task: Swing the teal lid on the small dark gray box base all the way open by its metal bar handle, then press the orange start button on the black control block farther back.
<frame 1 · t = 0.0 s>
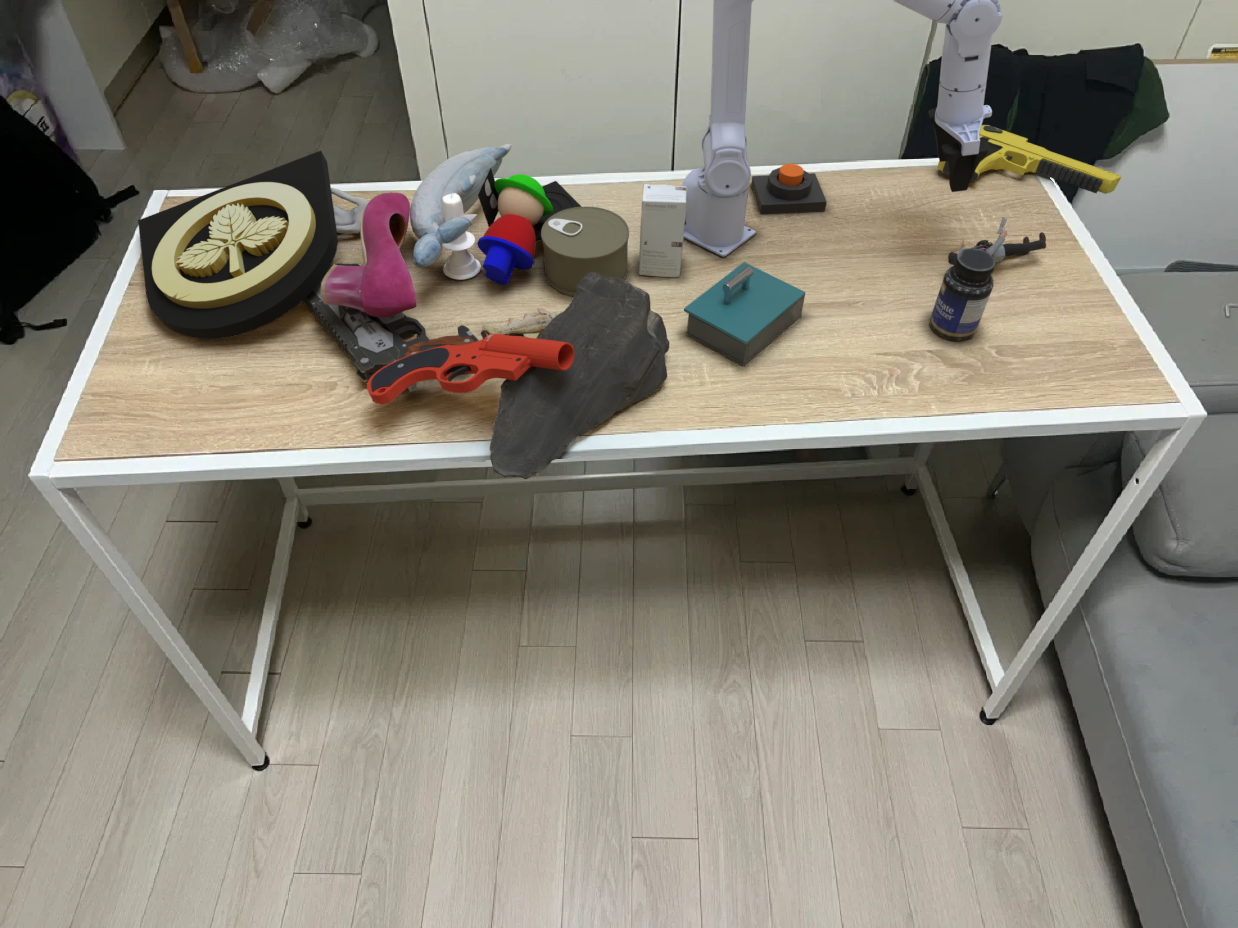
hand: (952, 174, 130), 11 cm above the table, tool pointing down, fingers open, 7 cm apart
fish: (523, 313, 125), point 1 cm above the table
pill bottle: (952, 328, 124), on the table
candle: (462, 269, 133), on the table, touching sculpture
decorative plaque: (246, 326, 119), point 3 cm above the table, touching fictional weapon, figurine
high heel: (354, 245, 125), point 7 cm above the table, touching fictional weapon
figurine: (256, 209, 138), point 3 cm above the table, touching decorative plaque
fictional weapon: (437, 300, 126), point 1 cm above the table, touching decorative plaque, flare gun, high heel
sculpture: (463, 231, 120), point 11 cm above the table, touching candle
flare gun: (422, 409, 103), point 8 cm above the table, touching fictional weapon, stone
stone: (635, 310, 119), point 5 cm above the table, touching flare gun
cosmetic box: (660, 268, 133), on the table
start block: (787, 198, 144), on the table
toy figure: (491, 275, 127), point 3 cm above the table, touching light switch
can: (586, 273, 132), on the table
action figure: (1036, 239, 133), point 2 cm above the table
washer lid: (746, 291, 120), point 5 cm above the table, hinge at 0.0°
light switch: (513, 235, 135), point 2 cm above the table, touching toy figure
handgun: (1006, 189, 143), point 2 cm above the table
start button: (790, 175, 141), point 4 cm above the table, slide at 0.1 cm
dark gray box base: (744, 325, 124), on the table
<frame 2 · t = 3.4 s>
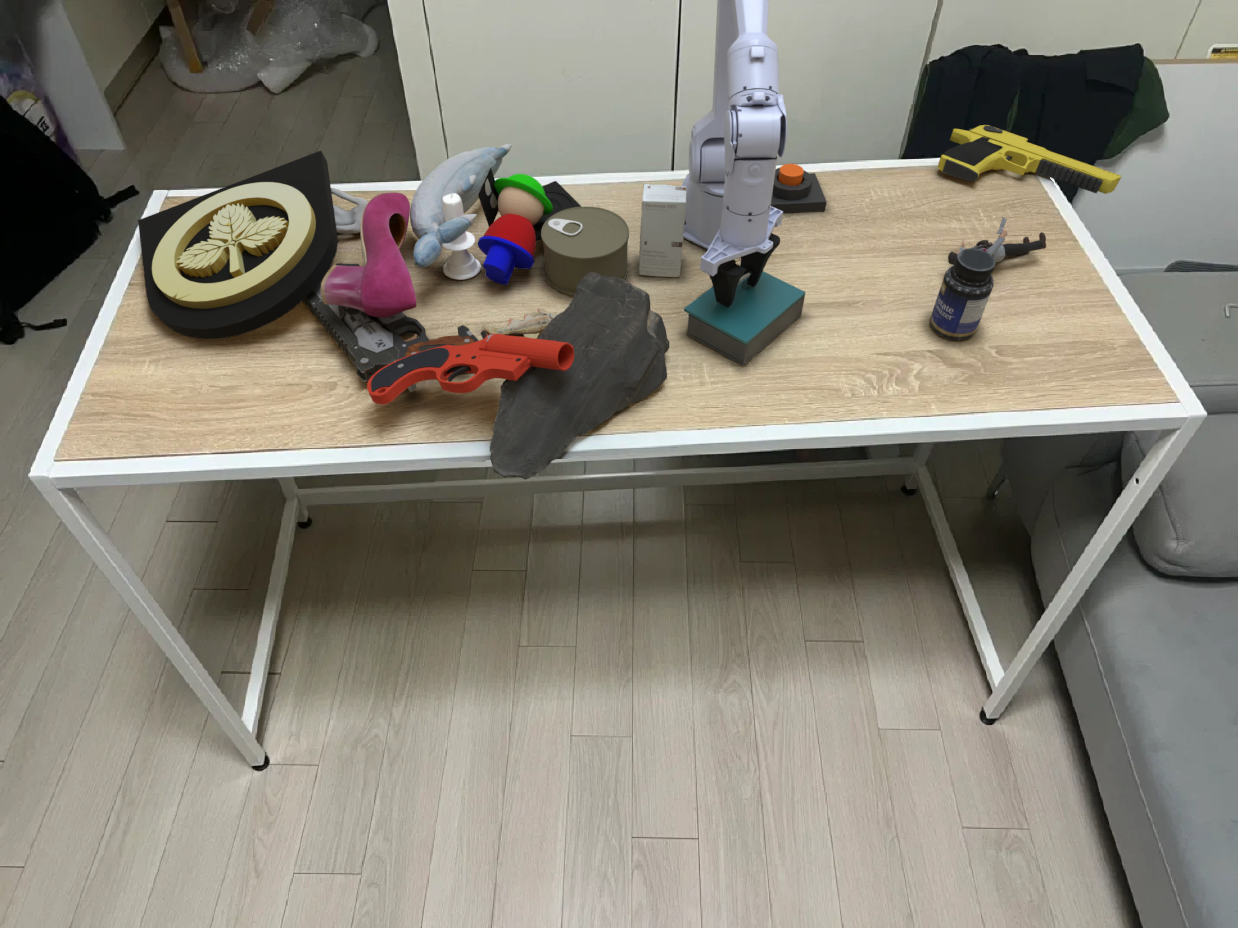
hand: (736, 293, 122), 5 cm above the table, tool pointing down, fingers closed on washer lid, 5 cm apart
washer lid: (746, 291, 120), point 6 cm above the table, hinge at 0.0°, touching gripper
everything else where it was.
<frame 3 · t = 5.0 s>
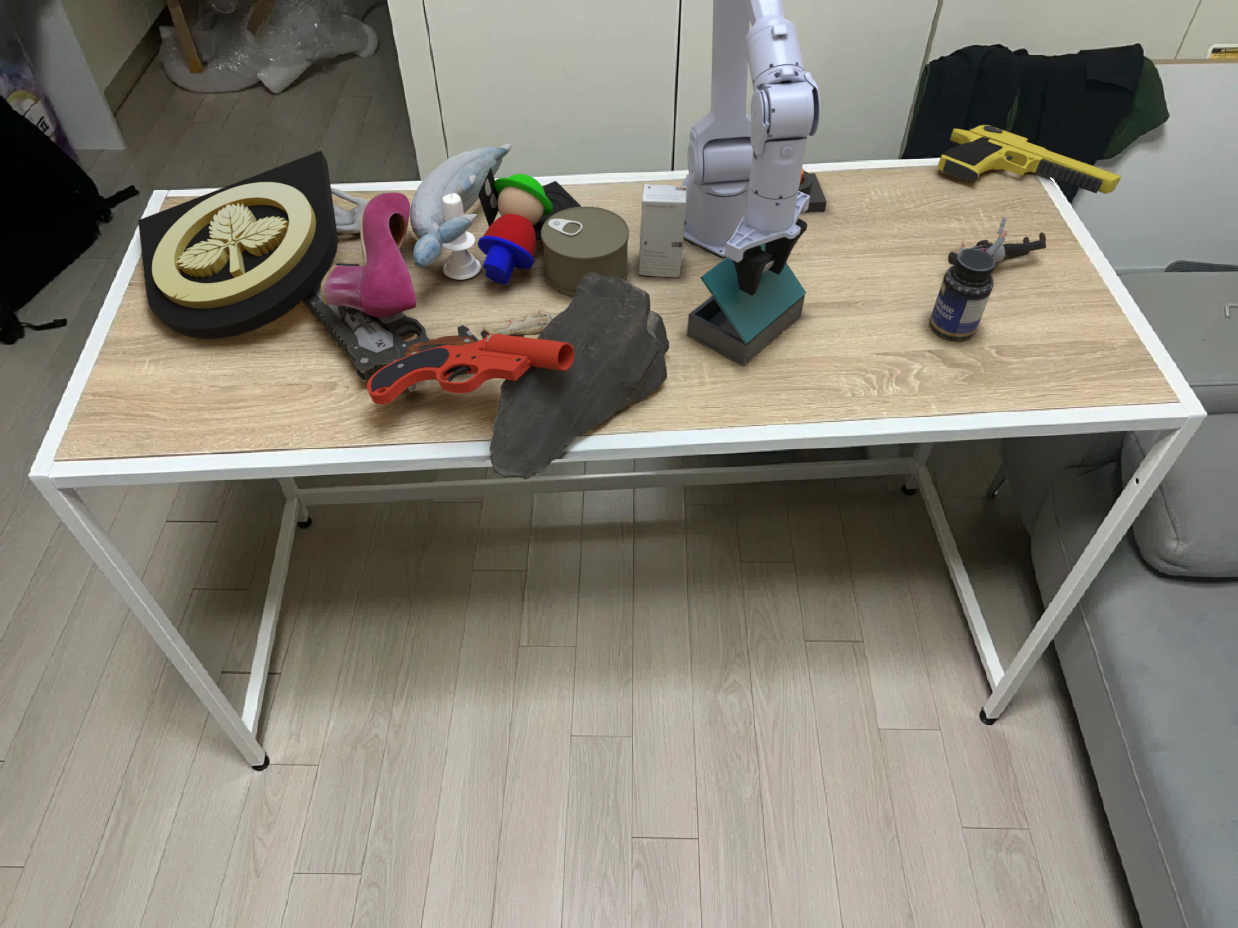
hand: (760, 280, 118), 8 cm above the table, tool pointing down, fingers closed on washer lid, 5 cm apart
washer lid: (762, 280, 117), point 8 cm above the table, hinge at 39.7°, touching gripper
everything else where it was.
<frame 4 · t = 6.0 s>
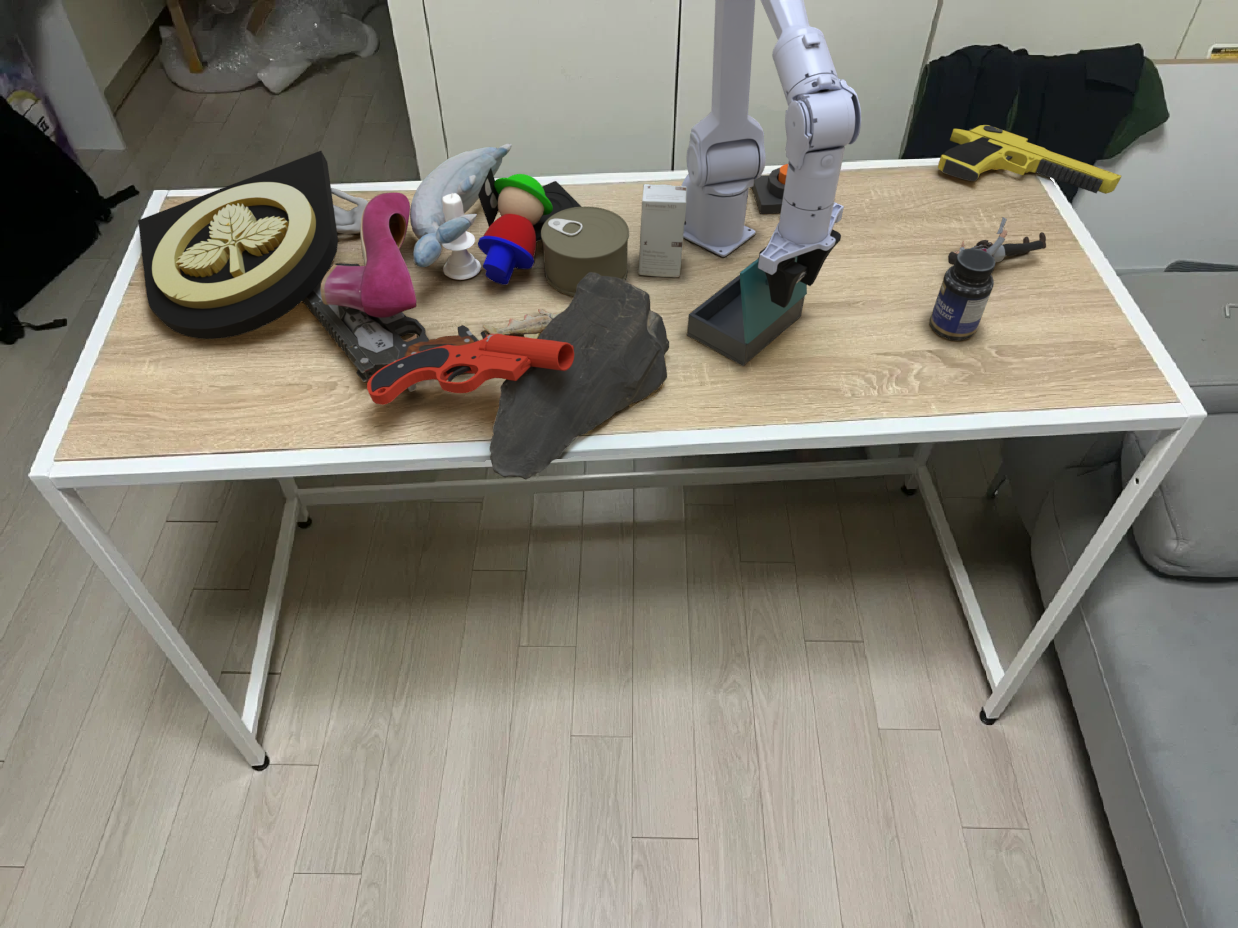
hand: (791, 292, 115), 9 cm above the table, tool pointing down, fingers closed on washer lid, 5 cm apart
washer lid: (785, 286, 115), point 9 cm above the table, hinge at 78.6°, touching gripper
everything else where it was.
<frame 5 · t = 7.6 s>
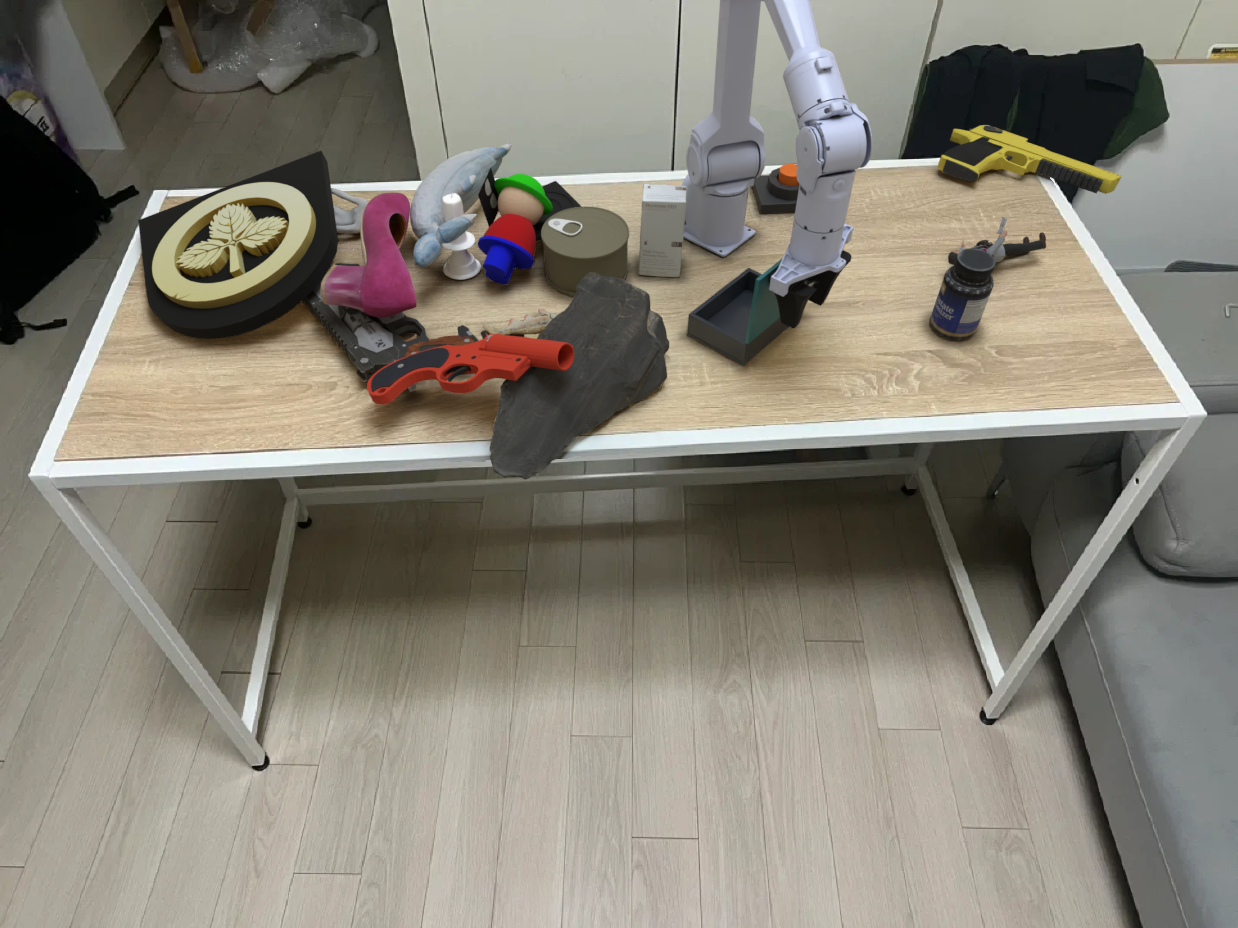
hand: (802, 312, 116), 7 cm above the table, tool pointing down, fingers open, 5 cm apart
washer lid: (793, 292, 115), point 9 cm above the table, hinge at 92.1°
everything else where it was.
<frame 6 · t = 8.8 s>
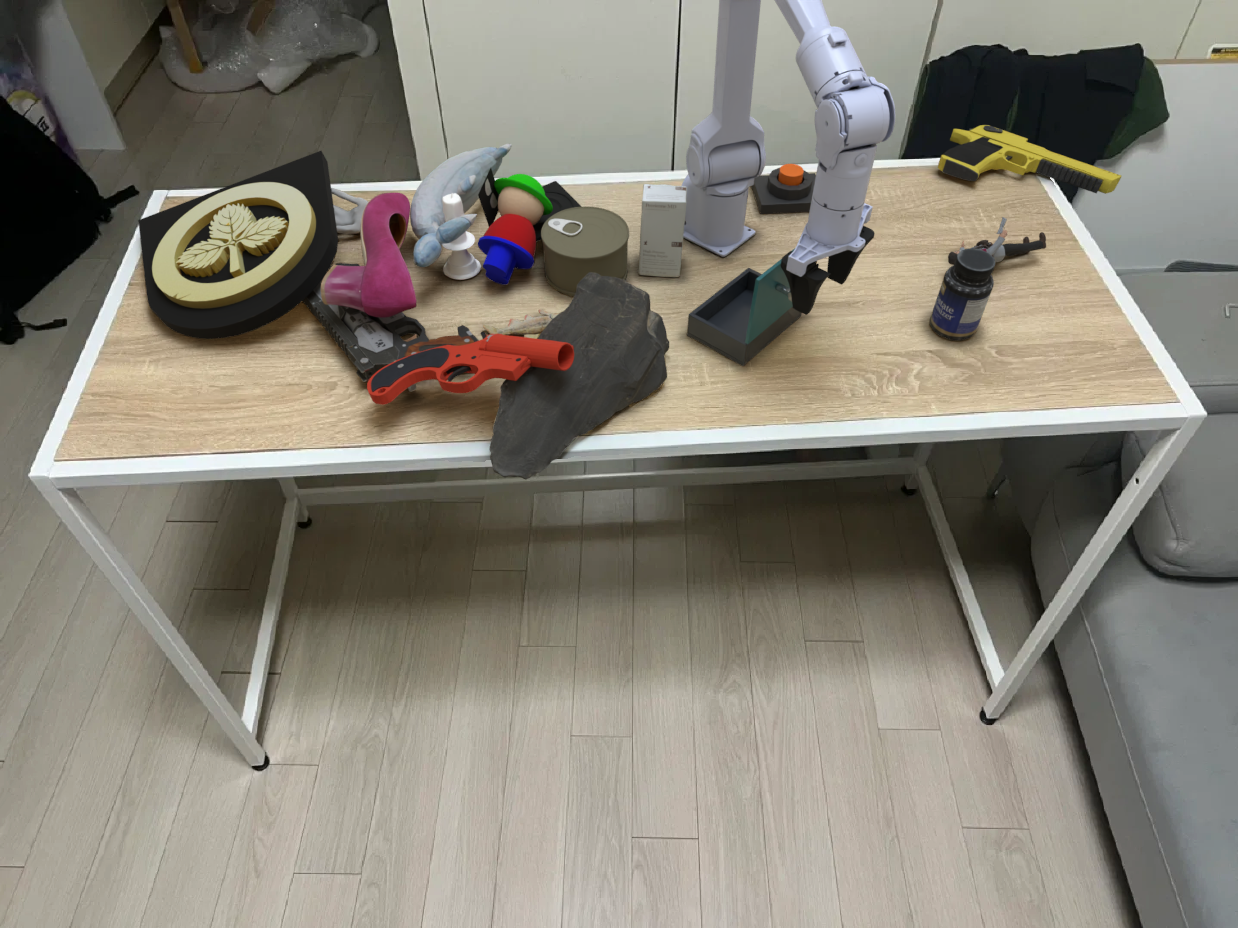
hand: (818, 295, 113), 10 cm above the table, tool pointing down, fingers open, 7 cm apart
nothing on the table moved.
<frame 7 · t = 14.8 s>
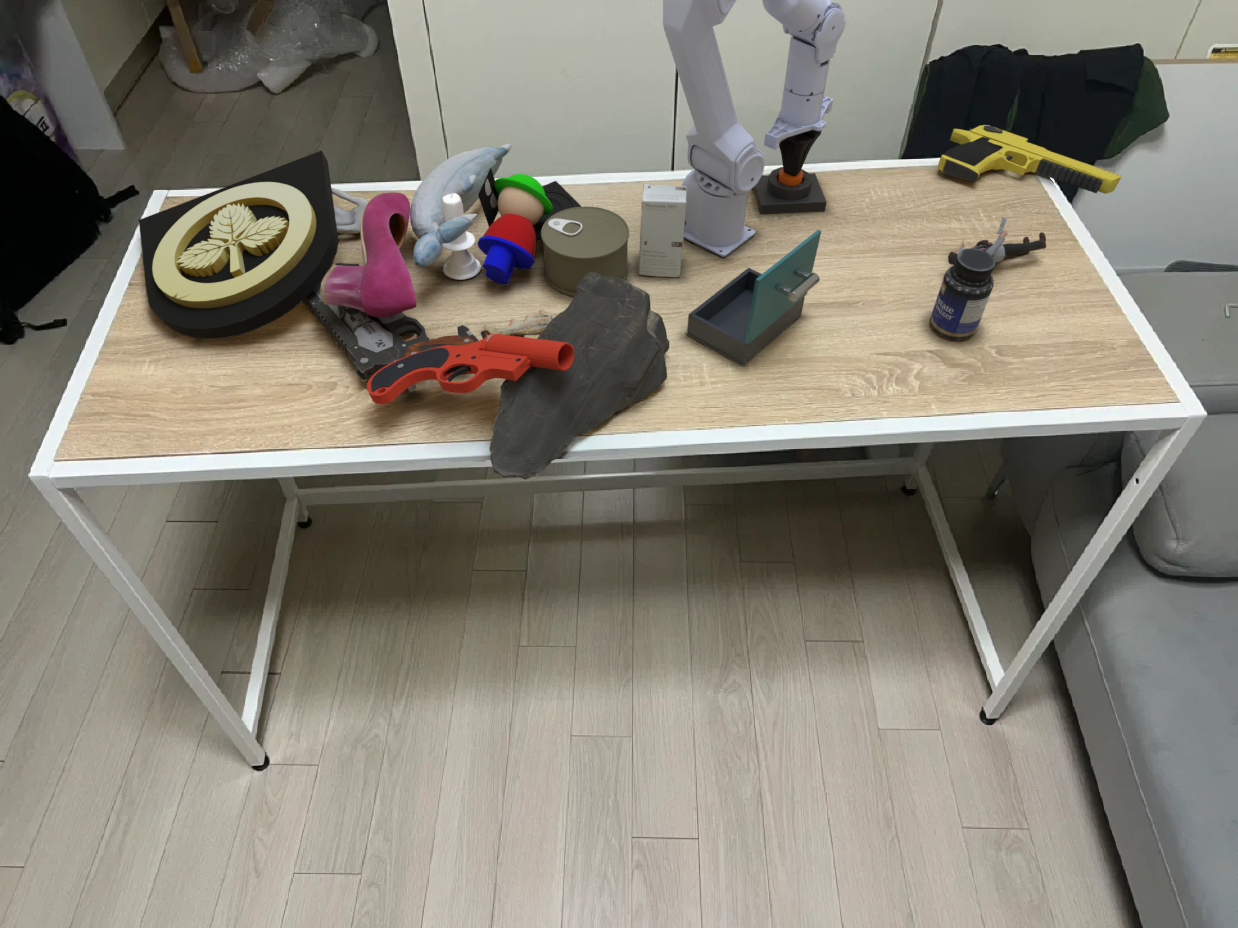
hand: (791, 172, 141), 4 cm above the table, tool pointing down, fingers closed, pressing on start button
start button: (790, 177, 142), point 4 cm above the table, slide at -0.3 cm, touching gripper
everything else where it was.
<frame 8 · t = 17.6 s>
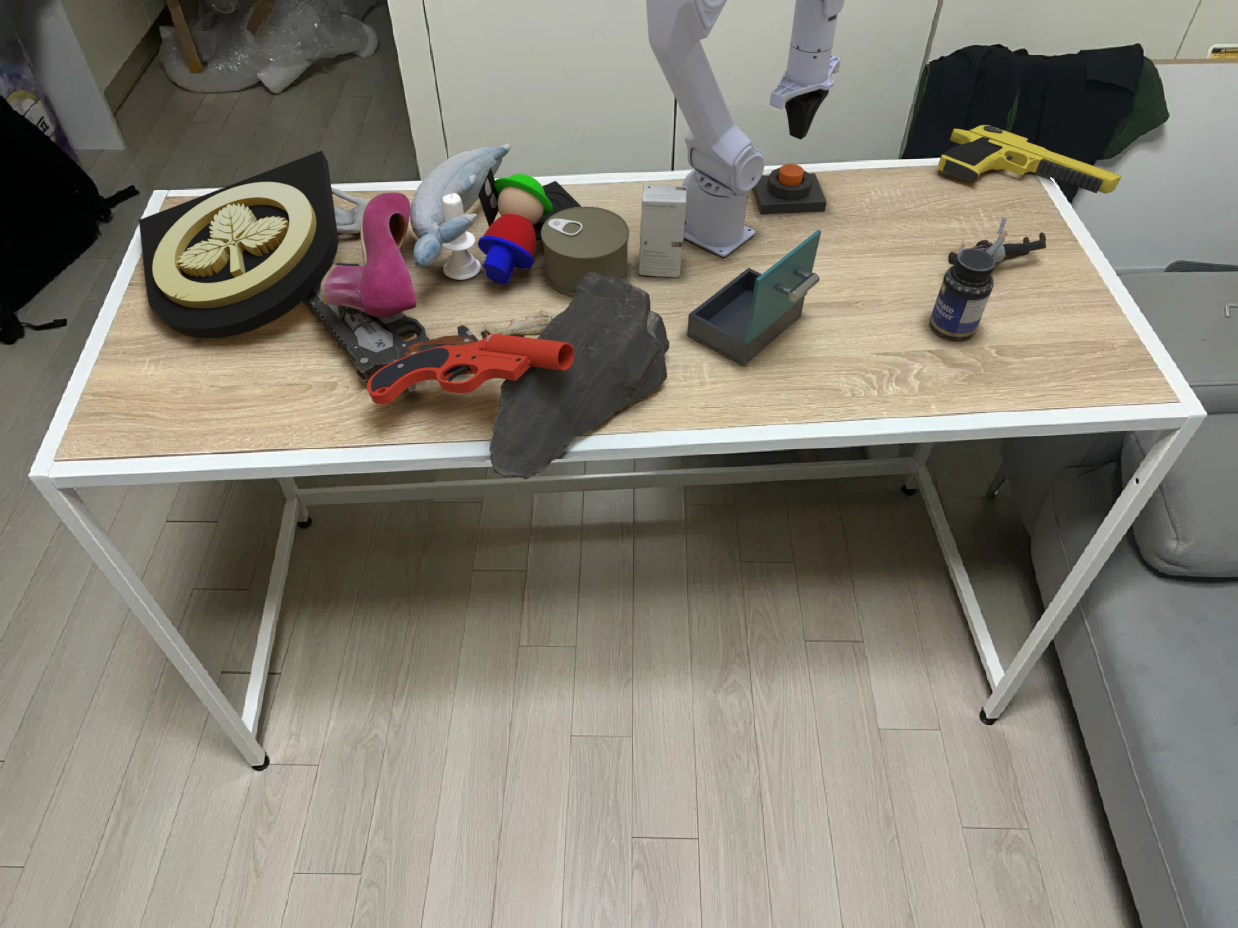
hand: (797, 135, 137), 10 cm above the table, tool pointing down, fingers closed
start button: (790, 175, 141), point 4 cm above the table, slide at 0.1 cm
everything else where it was.
at the end: washer lid at +92° (first picture: +0°); start button pushed in 1.2 cm at the most during the clip, back to where it started at the end; start button slide at 0.1 cm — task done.
